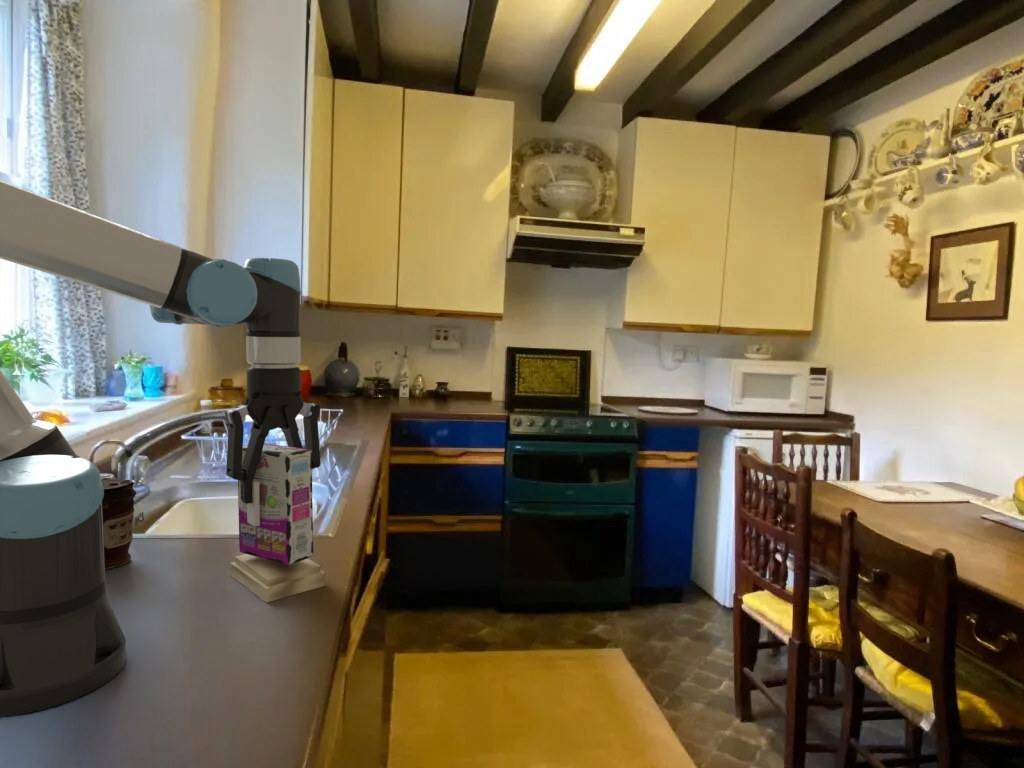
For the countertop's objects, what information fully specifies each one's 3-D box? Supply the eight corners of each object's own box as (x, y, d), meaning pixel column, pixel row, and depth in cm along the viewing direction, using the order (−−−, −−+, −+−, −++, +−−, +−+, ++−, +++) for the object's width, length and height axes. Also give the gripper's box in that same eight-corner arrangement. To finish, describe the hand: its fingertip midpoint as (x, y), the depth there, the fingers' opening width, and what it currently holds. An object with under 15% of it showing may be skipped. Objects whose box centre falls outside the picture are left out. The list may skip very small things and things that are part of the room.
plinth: (265, 602, 90) (265, 581, 90) (230, 575, 99) (230, 556, 99) (325, 585, 96) (325, 566, 96) (286, 561, 106) (286, 543, 105)
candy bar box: (315, 556, 97) (314, 448, 95) (289, 567, 93) (287, 454, 91) (264, 542, 102) (262, 440, 101) (237, 552, 98) (234, 446, 96)
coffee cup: (152, 555, 107) (149, 478, 106) (116, 574, 99) (113, 491, 98) (103, 552, 108) (100, 476, 107) (63, 571, 100) (60, 489, 98)
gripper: (321, 362, 104) (322, 503, 106) (196, 366, 91) (200, 526, 93) (345, 365, 99) (345, 513, 101) (216, 369, 86) (219, 539, 88)
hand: (275, 519), depth 97 cm, fingers closed on candy bar box, 6 cm apart
